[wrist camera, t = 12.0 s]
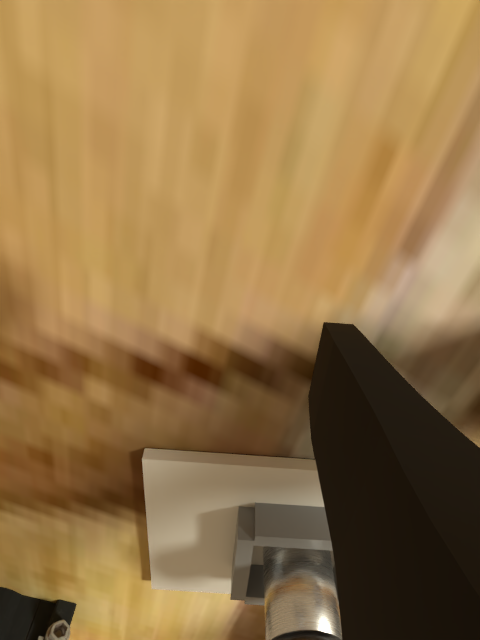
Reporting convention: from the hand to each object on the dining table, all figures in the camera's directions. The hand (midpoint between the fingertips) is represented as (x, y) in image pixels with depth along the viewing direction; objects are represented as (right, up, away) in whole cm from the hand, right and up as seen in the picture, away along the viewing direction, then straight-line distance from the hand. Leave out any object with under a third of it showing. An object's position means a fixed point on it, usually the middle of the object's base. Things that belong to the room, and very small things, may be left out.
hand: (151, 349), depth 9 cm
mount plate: (+6, -14, +21) cm, 26 cm away
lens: (+6, -14, +21) cm, 26 cm away
